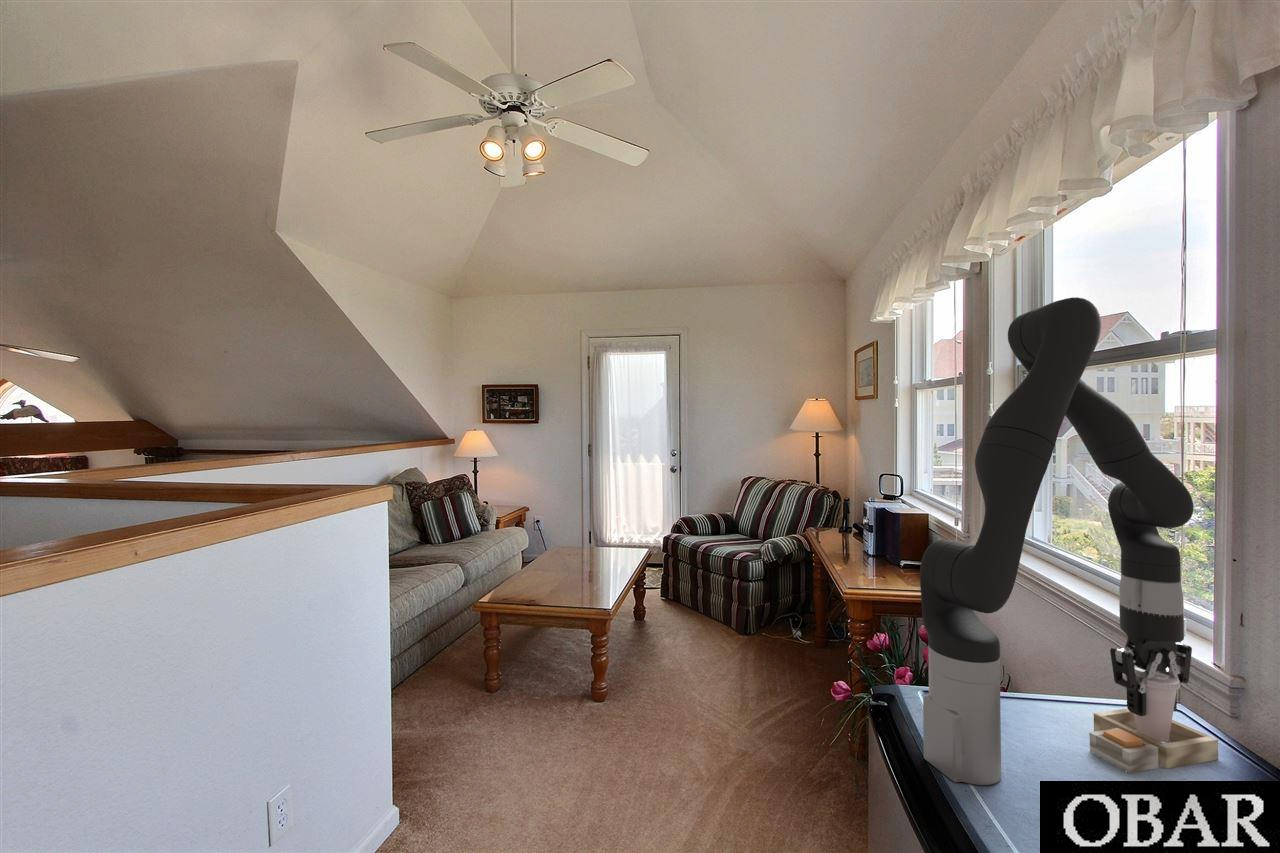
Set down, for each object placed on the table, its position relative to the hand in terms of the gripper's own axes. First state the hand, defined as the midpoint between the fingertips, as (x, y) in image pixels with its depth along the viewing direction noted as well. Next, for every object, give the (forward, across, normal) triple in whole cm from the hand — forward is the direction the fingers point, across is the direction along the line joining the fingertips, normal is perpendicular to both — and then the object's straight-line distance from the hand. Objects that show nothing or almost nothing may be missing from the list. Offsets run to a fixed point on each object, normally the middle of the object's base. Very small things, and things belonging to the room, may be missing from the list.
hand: (1152, 711), depth 87 cm
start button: (+4, -9, -2) cm, 10 cm away
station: (+5, -3, 0) cm, 6 cm away
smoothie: (+4, 0, 0) cm, 4 cm away
